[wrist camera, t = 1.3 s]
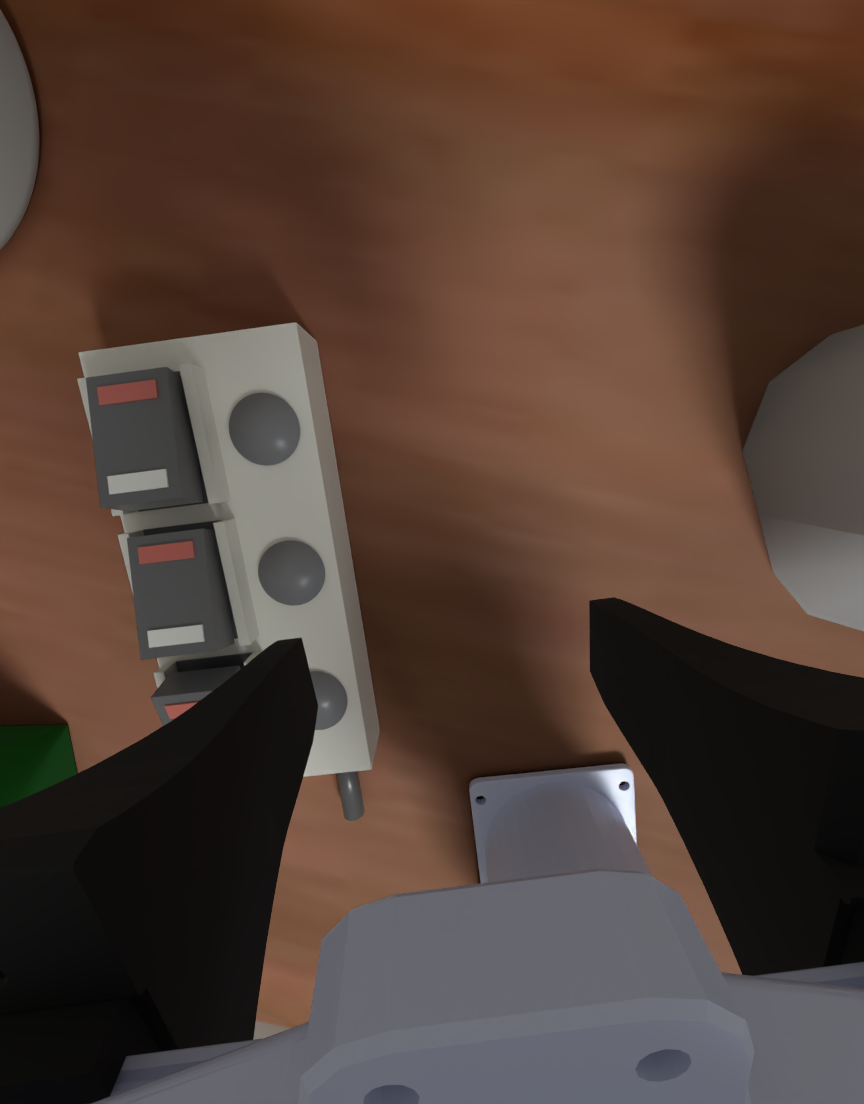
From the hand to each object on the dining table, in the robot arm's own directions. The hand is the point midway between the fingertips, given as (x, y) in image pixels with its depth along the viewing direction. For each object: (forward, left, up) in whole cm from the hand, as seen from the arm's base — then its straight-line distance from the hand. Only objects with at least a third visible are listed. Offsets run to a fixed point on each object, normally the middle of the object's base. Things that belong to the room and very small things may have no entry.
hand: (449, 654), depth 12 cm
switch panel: (-1, +8, -10) cm, 13 cm away
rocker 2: (+1, +10, -6) cm, 11 cm away
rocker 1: (+6, +10, -6) cm, 13 cm away
